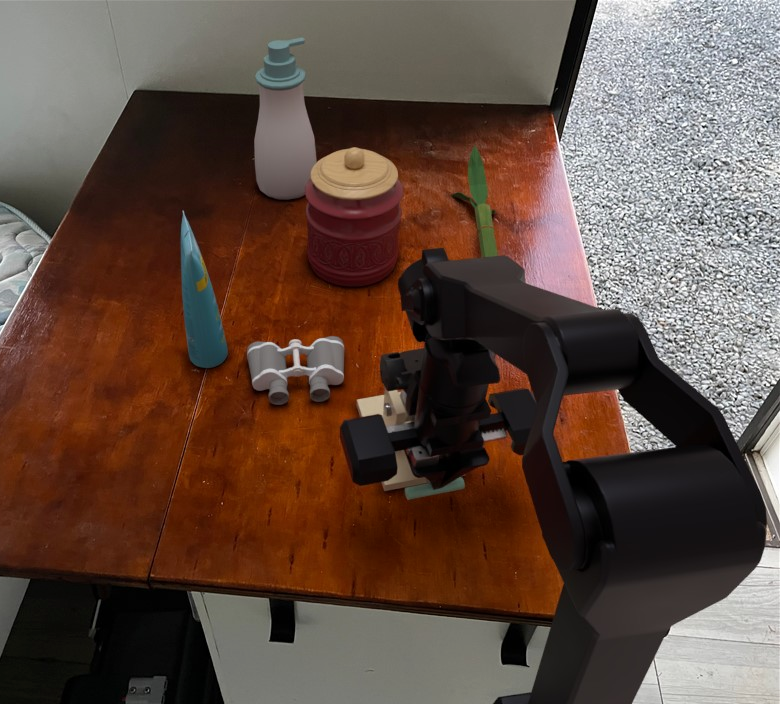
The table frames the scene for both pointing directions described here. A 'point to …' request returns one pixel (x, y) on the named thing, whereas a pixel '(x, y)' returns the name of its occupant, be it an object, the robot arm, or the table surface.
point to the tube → (200, 306)
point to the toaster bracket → (392, 415)
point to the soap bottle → (283, 125)
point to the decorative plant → (480, 204)
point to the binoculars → (296, 367)
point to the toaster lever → (426, 488)
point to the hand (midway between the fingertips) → (435, 485)
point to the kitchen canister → (353, 217)
